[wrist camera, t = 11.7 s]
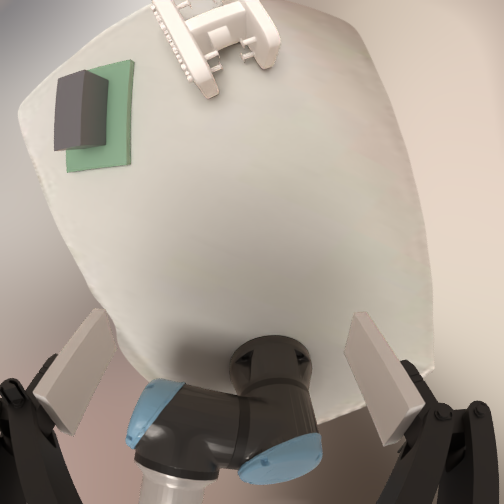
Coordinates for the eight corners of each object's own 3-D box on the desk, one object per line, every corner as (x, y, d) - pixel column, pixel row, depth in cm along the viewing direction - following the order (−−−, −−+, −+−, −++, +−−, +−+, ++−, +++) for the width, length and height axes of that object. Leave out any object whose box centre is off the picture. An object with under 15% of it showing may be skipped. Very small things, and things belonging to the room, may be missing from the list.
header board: (130, 164, 35) (114, 166, 30) (71, 171, 35) (51, 175, 30) (134, 62, 30) (119, 51, 24) (74, 77, 29) (56, 71, 24)
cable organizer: (276, 75, 32) (289, 44, 21) (205, 104, 33) (189, 83, 22) (232, 0, 27) (229, -42, 16) (166, 27, 28) (142, -8, 17)
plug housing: (106, 145, 32) (80, 145, 26) (81, 149, 32) (54, 151, 26) (108, 80, 29) (84, 69, 22) (84, 86, 29) (58, 78, 22)
